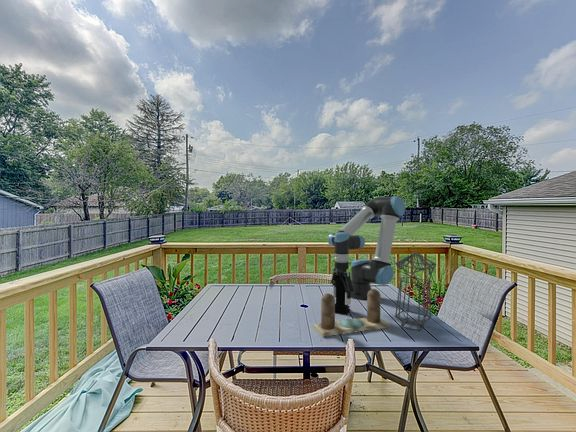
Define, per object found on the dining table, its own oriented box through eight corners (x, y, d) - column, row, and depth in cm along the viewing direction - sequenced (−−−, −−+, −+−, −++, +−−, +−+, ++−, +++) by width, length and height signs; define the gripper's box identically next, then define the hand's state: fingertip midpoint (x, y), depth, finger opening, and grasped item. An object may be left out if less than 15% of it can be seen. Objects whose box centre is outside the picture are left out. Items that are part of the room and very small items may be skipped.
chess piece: (350, 310, 164) (350, 273, 164) (346, 314, 157) (347, 276, 157) (336, 308, 168) (336, 272, 167) (331, 312, 160) (332, 275, 160)
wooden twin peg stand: (375, 319, 150) (375, 285, 150) (389, 327, 140) (390, 291, 139) (312, 328, 139) (312, 291, 139) (323, 337, 128) (323, 298, 128)
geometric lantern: (401, 318, 152) (404, 249, 152) (435, 326, 142) (438, 252, 142) (390, 327, 140) (392, 252, 139) (425, 337, 130) (429, 256, 129)
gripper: (324, 258, 172) (324, 295, 173) (347, 265, 149) (347, 308, 149) (336, 257, 175) (336, 294, 175) (360, 264, 151) (360, 307, 152)
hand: (341, 300), depth 162 cm, fingers open, 13 cm apart
